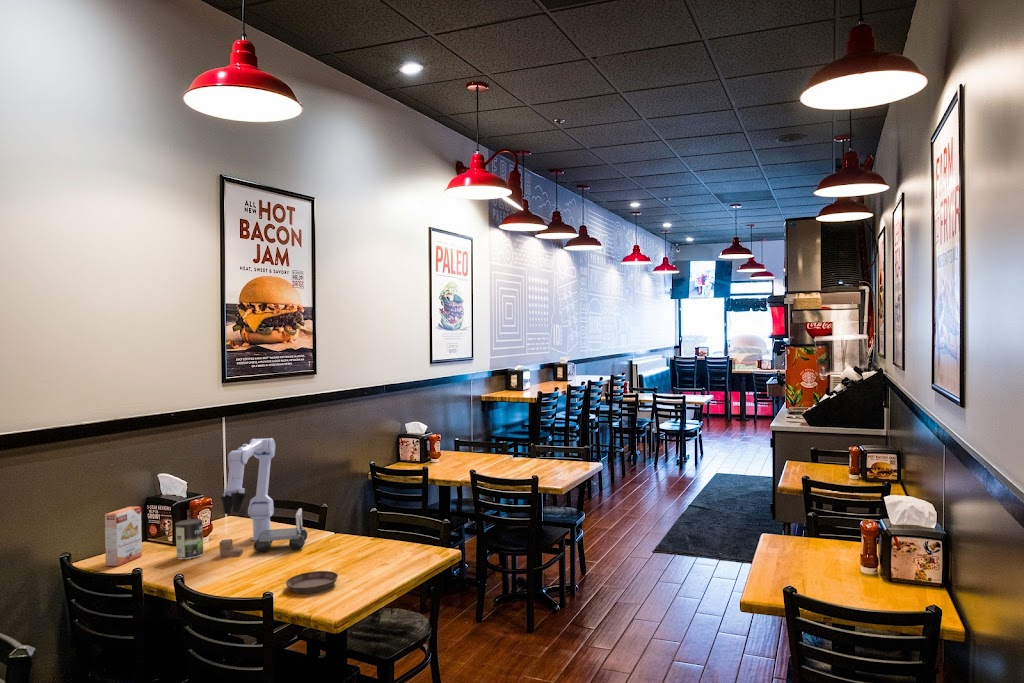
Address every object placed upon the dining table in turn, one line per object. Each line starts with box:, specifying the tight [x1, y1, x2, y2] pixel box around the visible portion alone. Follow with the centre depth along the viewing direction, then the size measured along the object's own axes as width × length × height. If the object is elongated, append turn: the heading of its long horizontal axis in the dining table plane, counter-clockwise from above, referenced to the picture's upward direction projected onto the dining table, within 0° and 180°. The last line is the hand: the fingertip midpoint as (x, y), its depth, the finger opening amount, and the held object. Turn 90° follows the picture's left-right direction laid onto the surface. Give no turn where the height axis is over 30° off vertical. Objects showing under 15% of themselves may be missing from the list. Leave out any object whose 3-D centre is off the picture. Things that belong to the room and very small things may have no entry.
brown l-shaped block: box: [219, 538, 244, 558], centre depth 293 cm, size 4×8×6 cm, turn 100°
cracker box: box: [104, 506, 143, 567], centre depth 290 cm, size 14×6×21 cm, turn 168°
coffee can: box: [174, 518, 205, 560], centre depth 294 cm, size 10×10×14 cm
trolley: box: [253, 507, 308, 554], centre depth 302 cm, size 13×20×15 cm, turn 100°
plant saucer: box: [285, 570, 339, 594], centre depth 250 cm, size 18×18×3 cm
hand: (231, 513), depth 289 cm, fingers open, 7 cm apart
